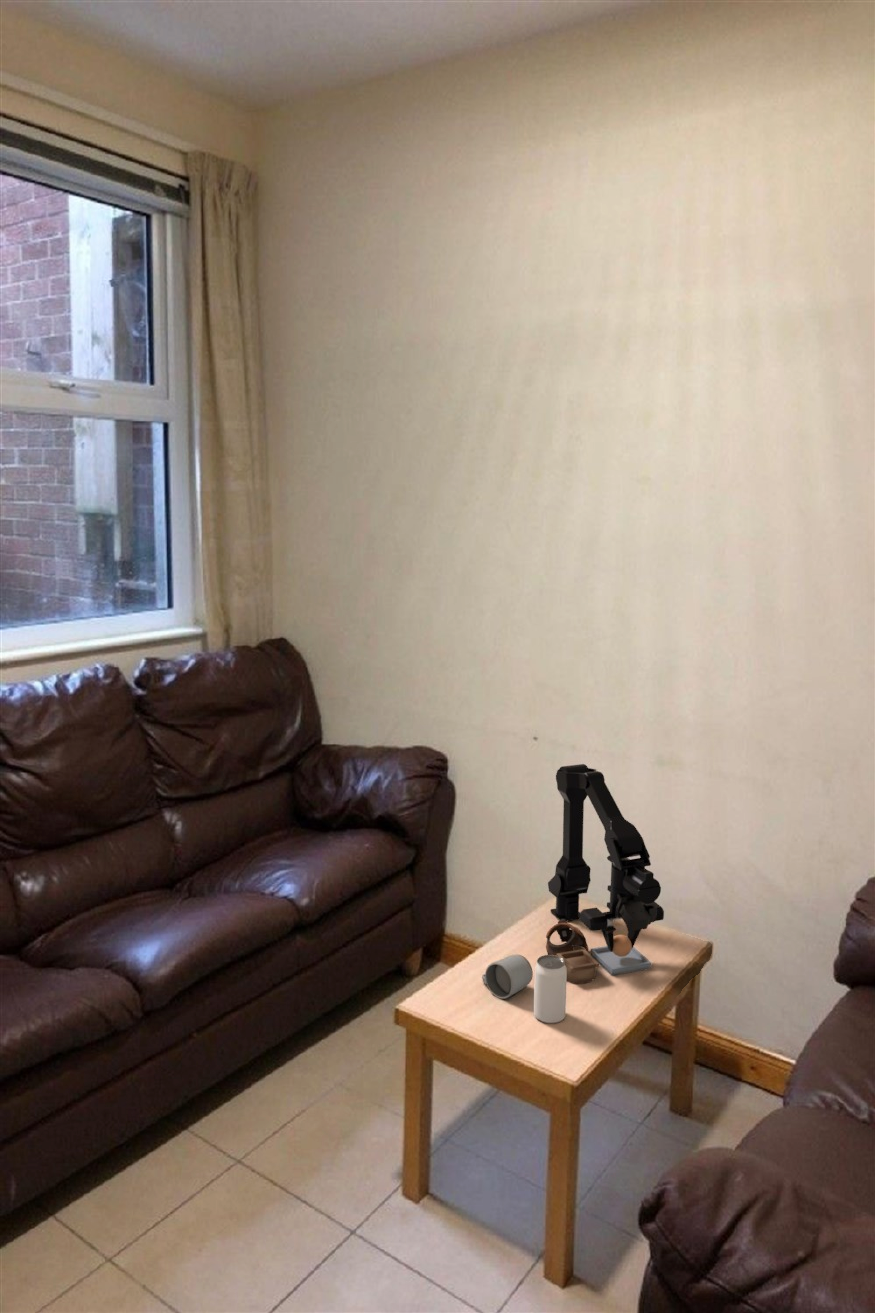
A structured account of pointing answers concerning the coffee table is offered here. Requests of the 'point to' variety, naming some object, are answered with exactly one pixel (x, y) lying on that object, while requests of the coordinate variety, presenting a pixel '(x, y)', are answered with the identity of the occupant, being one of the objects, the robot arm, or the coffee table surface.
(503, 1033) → the coffee table surface
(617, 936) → the ball
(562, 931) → the pottery mug
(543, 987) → the can
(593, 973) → the open wooden box
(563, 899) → the robot arm
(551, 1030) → the coffee table surface
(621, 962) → the tray
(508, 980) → the ceramic mug
